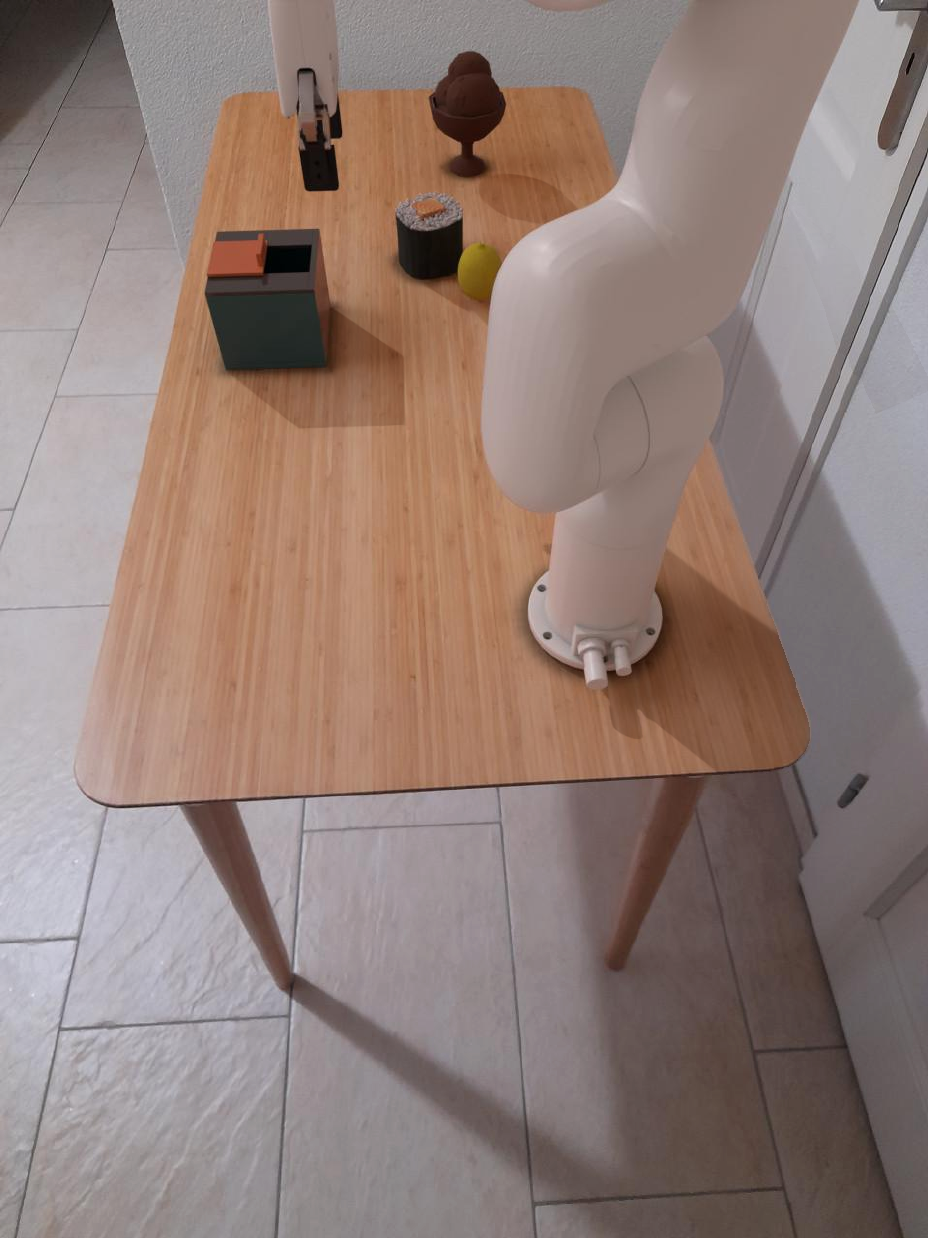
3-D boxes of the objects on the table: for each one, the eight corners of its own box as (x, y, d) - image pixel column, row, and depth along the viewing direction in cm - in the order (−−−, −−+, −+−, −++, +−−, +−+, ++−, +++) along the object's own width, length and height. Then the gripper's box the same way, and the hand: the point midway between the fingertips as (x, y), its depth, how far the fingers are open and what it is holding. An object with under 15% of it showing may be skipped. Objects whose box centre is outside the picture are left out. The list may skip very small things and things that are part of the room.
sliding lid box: (326, 366, 105) (314, 289, 96) (225, 370, 105) (204, 292, 96) (330, 305, 112) (319, 228, 103) (236, 308, 112) (216, 231, 103)
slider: (263, 275, 98) (259, 259, 96) (207, 277, 98) (203, 261, 96) (268, 242, 102) (264, 227, 100) (213, 244, 101) (210, 228, 100)
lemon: (450, 306, 112) (449, 248, 105) (470, 283, 115) (470, 225, 108) (489, 319, 110) (490, 260, 104) (508, 295, 113) (511, 237, 107)
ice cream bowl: (418, 158, 133) (413, 48, 121) (485, 142, 136) (487, 33, 123) (447, 192, 127) (445, 81, 115) (516, 175, 130) (521, 64, 118)
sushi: (472, 268, 117) (473, 210, 110) (416, 286, 114) (413, 228, 108) (444, 238, 121) (443, 180, 114) (389, 254, 118) (385, 197, 112)
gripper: (259, -86, 76) (291, 120, 90) (239, -5, 66) (279, 212, 80) (346, -88, 76) (365, 118, 90) (339, -7, 66) (361, 210, 80)
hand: (324, 162), depth 85 cm, fingers open, 9 cm apart
